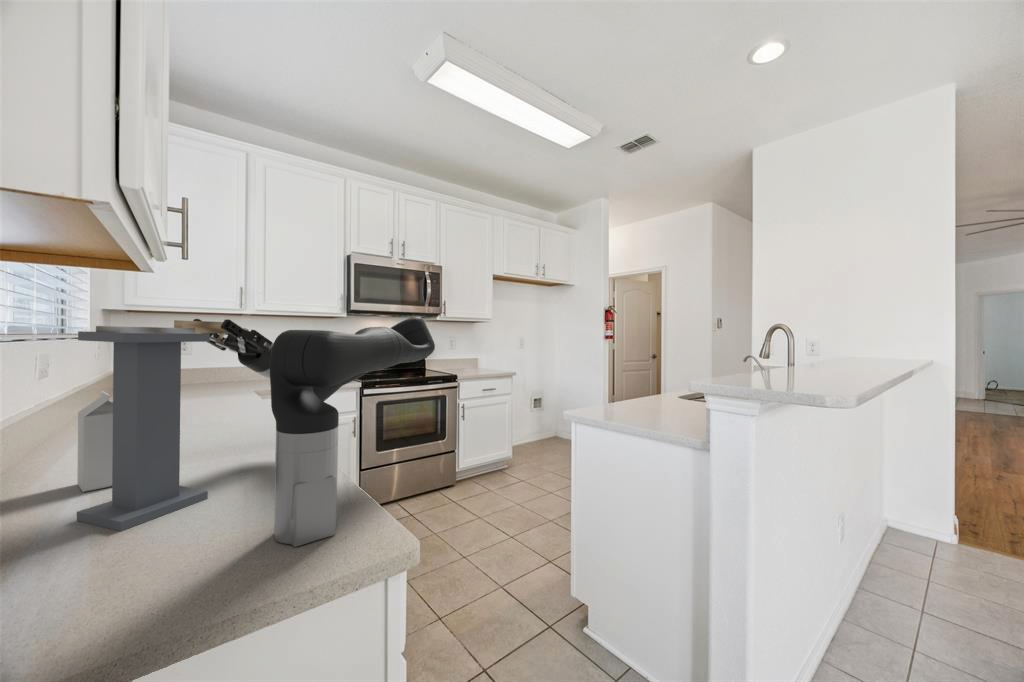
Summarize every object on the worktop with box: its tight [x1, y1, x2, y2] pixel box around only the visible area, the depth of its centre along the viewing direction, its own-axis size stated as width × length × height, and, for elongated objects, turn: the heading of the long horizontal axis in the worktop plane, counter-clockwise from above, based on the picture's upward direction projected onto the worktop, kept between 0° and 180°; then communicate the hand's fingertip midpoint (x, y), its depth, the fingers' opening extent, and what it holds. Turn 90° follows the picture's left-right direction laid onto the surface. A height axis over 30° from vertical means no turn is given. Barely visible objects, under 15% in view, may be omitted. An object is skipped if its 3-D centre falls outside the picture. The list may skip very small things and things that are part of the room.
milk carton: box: [77, 390, 113, 493], centre depth 86 cm, size 7×7×19 cm
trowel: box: [95, 319, 228, 334], centre depth 78 cm, size 21×6×2 cm, turn 163°
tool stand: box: [76, 331, 210, 532], centre depth 74 cm, size 14×11×32 cm
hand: (208, 322), depth 84 cm, fingers open, 8 cm apart
